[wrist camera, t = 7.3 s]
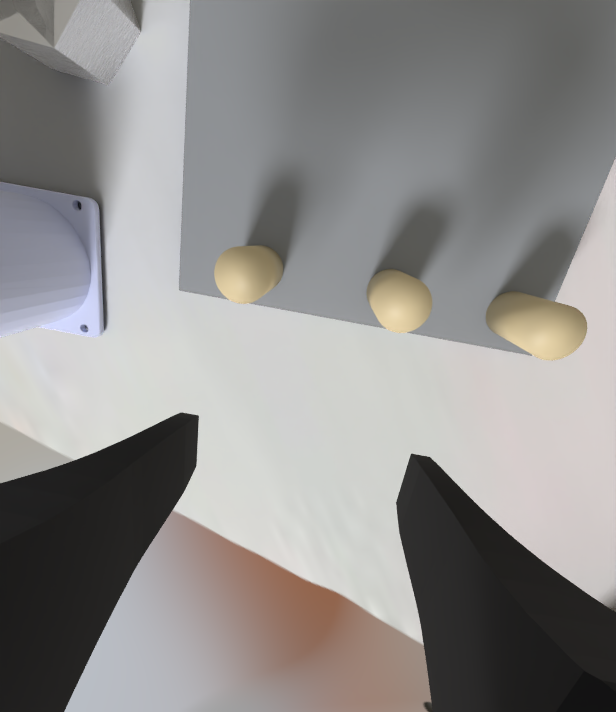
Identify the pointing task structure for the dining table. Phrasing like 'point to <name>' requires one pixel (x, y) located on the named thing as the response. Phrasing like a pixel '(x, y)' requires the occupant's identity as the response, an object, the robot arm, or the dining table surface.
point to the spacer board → (399, 161)
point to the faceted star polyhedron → (72, 34)
